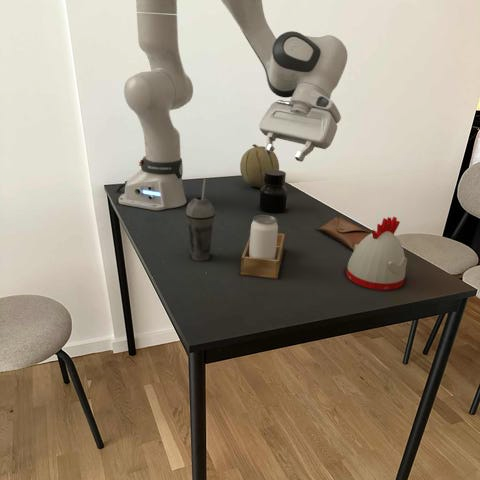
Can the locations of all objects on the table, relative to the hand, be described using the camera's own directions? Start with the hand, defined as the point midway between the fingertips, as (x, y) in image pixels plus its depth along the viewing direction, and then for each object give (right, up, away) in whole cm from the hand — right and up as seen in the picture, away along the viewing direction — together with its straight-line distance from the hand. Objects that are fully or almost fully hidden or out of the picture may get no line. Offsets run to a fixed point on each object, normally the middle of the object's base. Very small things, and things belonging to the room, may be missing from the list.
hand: (282, 156), depth 113 cm
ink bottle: (0, -4, +39) cm, 39 cm away
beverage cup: (-21, -25, +5) cm, 33 cm away
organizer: (-5, -26, +4) cm, 26 cm away
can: (-5, -27, +1) cm, 28 cm away
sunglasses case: (+20, -17, +20) cm, 33 cm away
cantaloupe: (-4, +10, +60) cm, 61 cm away
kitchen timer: (+23, -30, 0) cm, 38 cm away
